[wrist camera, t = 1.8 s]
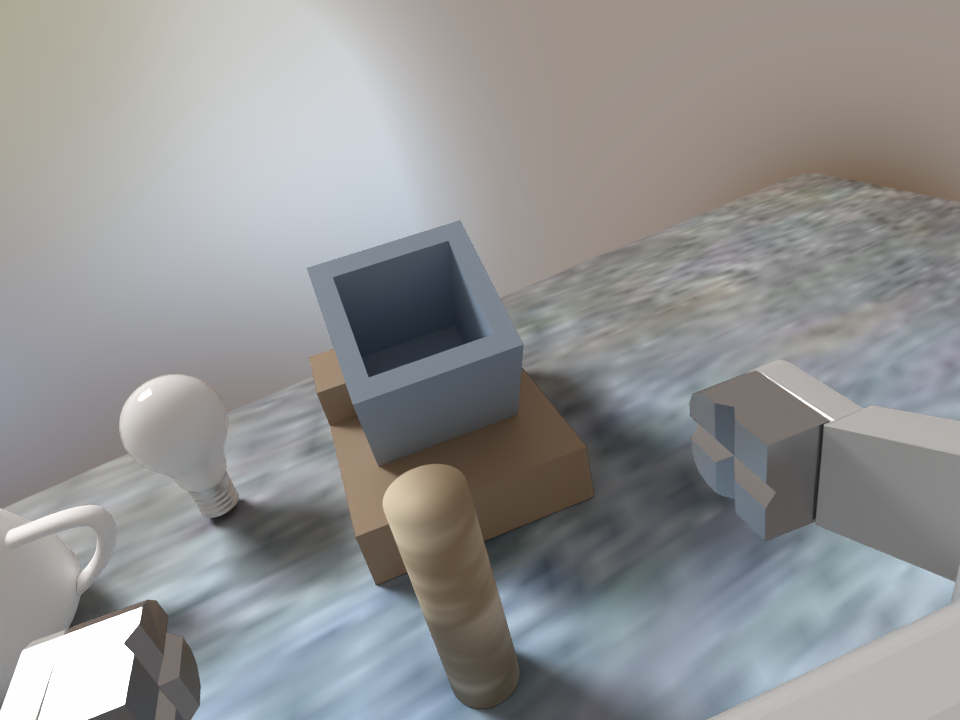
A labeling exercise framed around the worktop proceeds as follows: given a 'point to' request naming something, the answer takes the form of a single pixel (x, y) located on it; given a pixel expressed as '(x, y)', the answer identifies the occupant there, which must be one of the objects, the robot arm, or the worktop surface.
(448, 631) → the peg
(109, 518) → the teapot
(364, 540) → the socket
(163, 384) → the lightbulb
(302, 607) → the worktop surface
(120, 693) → the robot arm
